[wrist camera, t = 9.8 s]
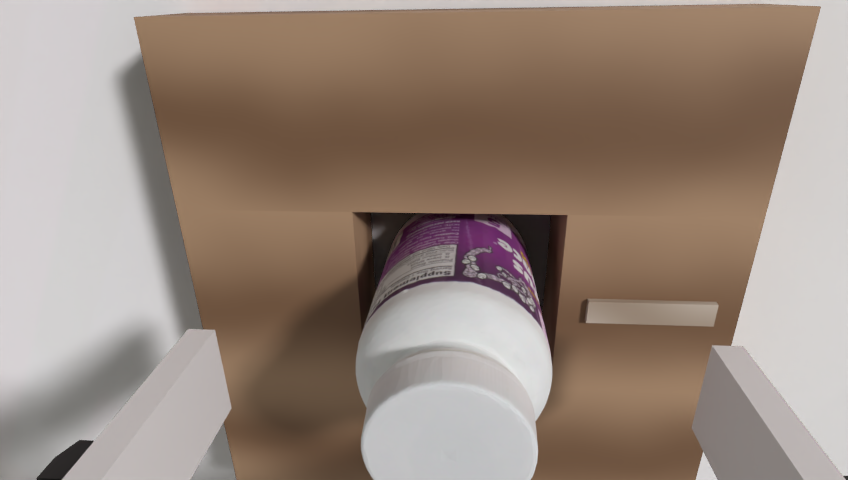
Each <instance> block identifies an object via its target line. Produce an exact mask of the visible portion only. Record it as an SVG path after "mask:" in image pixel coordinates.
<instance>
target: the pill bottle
mask: <svg viewBox="0 0 848 480" xmlns="http://www.w3.org/2000/svg"><path fill="white" fill-rule="evenodd" d="M356 379H357V384H358V388H359V392H360V395H361V397H362V400H363V402H364V404H365V406H366V408H367V409H366V415H365V420H364V425H363V430H362V435H361V452H362V457H363V461H364V463H365V466H366V468H367V470H368V472H369V474H370V476H371V477H372V478H373V480H531V479H532V477H533V474H534V472H535V468H536V465H537V458H538V443H537V432H536V423H535V421H536V420H537V419H538V417H539V416H540V414H541V412H542V411H543V409H544V407H545V405H546V402H547V399H548V396H549V393H550V389H551V383H552V360H551V352H550V347H549V343H548V338H547V334H546V330H545V325H544V321H543V317H542V311H541V308H540V303H539V299H538V295H537V291H536V286H535V282H534V278H533V274H532V268H531V265H530V261H529V257H528V253H527V249H526V246H525V243H524V241H523V239H522V237H521V235H520V234H519V232H518V231H517V229H516V228H515V227H514V226H513V225H512V224H511V223H510V222H509V221H508V220H507V219H506V218H505V217H504V216H502V215H501V214H458V213H417V214H416V215H414V216H413V217H412V218H410V219H409V220H408V221H407V222H406V223H405V224H404V225H403V227H402V228H401V229H400V231H399V232H398V233H397V235H396V237H395V239H394V241H393V243H392V246H391V249H390V251H389V254H388V257H387V260H386V263H385V266H384V269H383V272H382V275H381V278H380V281H379V284H378V287H377V290H376V293H375V295H374V298H373V302H372V304H371V307H370V310H369V313H368V316H367V319H366V322H365V325H364V329H363V331H362V334H361V337H360V340H359V342H358V349H357V355H356Z"/></svg>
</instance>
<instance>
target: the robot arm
mask: <svg viewBox="0 0 848 480" xmlns="http://www.w3.org/2000/svg"><path fill="white" fill-rule="evenodd" d="M230 410H231V403H230V398H229V394H228V389H227V384H226V379H225V375H224V370H223V365H222V360H221V356H220V351H219V346H218V342H217V337H216V332H215V330H206V329H188V330H187V331H186V332H185V333H184V334H183V336H182V337H181V338H180V339H179V340H178V342H177V343H176V344H175V345H174V346H173V348H172V349H171V350H170V351H169V352H168V354H167V355H166V356H165V357H164V358H163V360H162V361H161V362H160V363H159V364H158V365H157V367H156V368H155V369H154V370H153V371H152V373H151V374H150V375H149V376H148V377H147V379H146V380H145V381H144V382H143V383H142V385H141V386H140V387H139V388H138V389H137V391H136V392H135V393H134V394H133V395H132V397H131V398H130V399H129V400H128V401H127V403H126V404H125V405H124V406H123V407H122V408H121V410H120V411H119V412H118V413H117V414H116V416H115V417H114V418H113V419H112V420H111V422H110V423H109V424H108V425H107V426H106V428H105V429H104V430H103V431H102V432H101V434H100V435H99V436H98V437H97V438H96V440H95V441H87V440H79V441H78V442H76V443H75V444H73V445H72V446H70V447H69V448H68V449H66V450H65V451H63V452H62V453H61V454H59V455H58V456H56V457H55V458H54V459H53V460H52V461H51V463H50V464H49V465H48V466H47V467H46V468H45V469H44V470H43V472H42V473H41V474H40V475H39V476H38V477H37V480H191V478H192V476H193V475H194V473H195V471H196V469H197V468H198V466H199V464H200V462H201V461H202V459H203V457H204V455H205V454H206V452H207V450H208V448H209V447H210V445H211V443H212V441H213V440H214V438H215V436H216V434H217V433H218V431H219V429H220V428H221V426H222V424H223V422H224V421H225V419H226V417H227V415H228V414H229V412H230ZM692 430H693V432H694V434H695V436H696V438H697V440H698V442H699V444H700V446H701V448H702V450H703V452H704V454H705V455H706V457H707V459H708V461H709V463H710V465H711V467H712V469H713V471H714V473H715V475H716V477H717V479H718V480H848V476H843V475H842V474H841V473H840V472H839V470H838V469H837V468H836V466H835V465H834V464H833V462H832V461H831V460H830V459H829V457H828V456H827V455H826V453H825V452H824V451H823V449H822V448H821V447H820V446H819V444H818V443H817V442H816V440H815V439H814V438H813V436H812V435H811V434H810V433H809V431H808V430H807V429H806V427H805V426H804V425H803V423H802V422H801V421H800V419H799V418H798V417H797V416H796V414H795V413H794V412H793V410H792V409H791V408H790V406H789V405H788V404H787V403H786V401H785V400H784V399H783V397H782V396H781V395H780V393H779V392H778V391H777V390H776V388H775V387H774V386H773V384H772V383H771V382H770V380H769V379H768V378H767V377H766V375H765V374H764V373H763V371H762V370H761V369H760V367H759V366H758V365H757V364H756V362H755V361H754V360H753V358H752V357H751V356H750V354H749V353H748V352H747V351H746V349H745V348H744V347H743V346H717V345H712V347H711V351H710V355H709V359H708V363H707V368H706V372H705V376H704V380H703V384H702V388H701V392H700V396H699V400H698V404H697V408H696V412H695V416H694V420H693V424H692Z"/></svg>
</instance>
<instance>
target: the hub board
mask: <svg viewBox="0 0 848 480" xmlns="http://www.w3.org/2000/svg"><path fill="white" fill-rule="evenodd" d="M820 8H821V7H820V6H796V5H773V4H734V5H671V6H609V7H546V8H484V9H422V10H359V11H297V12H234V13H183V14H170V15H157V16H144V17H134V20H135V25H136V29H137V34H138V38H139V43H140V47H141V52H142V56H143V61H144V65H145V70H146V74H147V79H148V83H149V88H150V92H151V97H152V101H153V106H154V110H155V115H156V119H157V124H158V128H159V133H160V137H161V142H162V146H163V151H164V155H165V160H166V164H167V169H168V173H169V178H170V182H171V187H172V191H173V196H174V200H175V205H176V209H177V214H178V218H179V223H180V227H181V232H182V236H183V241H184V245H185V250H186V254H187V259H188V263H189V268H190V272H191V277H192V281H193V286H194V290H195V295H196V299H197V304H198V308H199V313H200V317H201V322H202V326H203V329H206V330H215V332H216V337H217V342H218V346H219V351H220V356H221V360H222V365H223V370H224V375H225V379H226V384H227V389H228V394H229V398H230V403H231V410H230V412H229V414H228V415H227V417H226V419H225V421H224V425H225V430H226V434H227V439H228V443H229V448H230V452H231V457H232V461H233V466H234V470H235V475H236V479H237V480H373V478H372V477H371V476H370V474H369V472H368V470H367V468H366V466H365V463H364V461H363V457H362V452H361V435H362V430H363V425H364V420H365V415H366V409H367V408H366V406H365V404H364V402H363V400H362V397H361V395H360V392H359V388H358V384H357V379H356V355H357V349H358V342H359V340H360V337H361V334H362V331H363V329H364V325H365V322H366V319H367V316H368V313H369V310H370V307H371V304H372V302H373V298H374V295H375V293H376V290H375V274H374V258H373V242H372V226H371V212H384V213H458V214H533V215H551V222H550V233H549V245H548V256H547V267H546V279H545V290H544V302H543V313H542V317H543V321H544V325H545V330H546V334H547V338H548V343H549V347H550V352H551V360H552V383H551V389H550V393H549V396H548V399H547V402H546V405H545V407H544V409H543V411H542V412H541V414H540V416H539V417H538V419H537V420H536V421H535V423H536V432H537V443H538V458H537V465H536V468H535V472H534V474H533V477H532V479H531V480H695V479H696V476H697V472H698V468H699V464H700V461H701V457H702V453H703V450H702V448H701V446H700V444H699V442H698V440H697V438H696V436H695V434H694V432H693V430H692V424H693V420H694V416H695V412H696V408H697V404H698V400H699V396H700V392H701V388H702V384H703V380H704V376H705V372H706V368H707V363H708V359H709V355H710V351H711V347H712V345H717V346H731V344H732V340H733V336H734V332H735V329H736V325H737V321H738V317H739V314H740V310H741V306H742V302H743V299H744V295H745V291H746V287H747V283H748V280H749V276H750V272H751V268H752V265H753V261H754V257H755V253H756V249H757V246H758V242H759V238H760V234H761V231H762V227H763V223H764V219H765V216H766V212H767V208H768V204H769V200H770V197H771V193H772V189H773V185H774V182H775V178H776V174H777V170H778V167H779V163H780V159H781V155H782V151H783V148H784V144H785V140H786V136H787V133H788V129H789V125H790V121H791V118H792V114H793V110H794V106H795V102H796V99H797V95H798V91H799V87H800V84H801V80H802V76H803V72H804V69H805V65H806V61H807V57H808V53H809V50H810V46H811V42H812V38H813V35H814V31H815V27H816V23H817V19H818V16H819V12H820Z"/></svg>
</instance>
